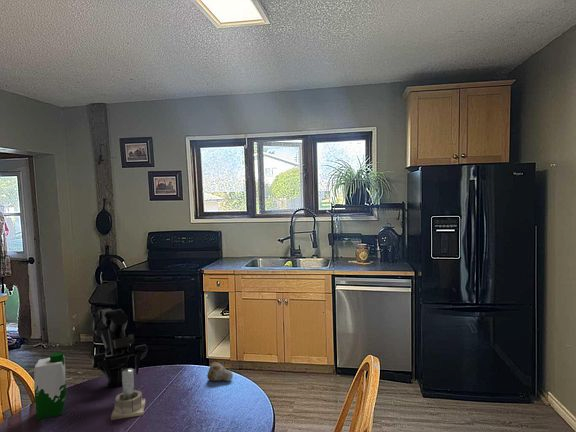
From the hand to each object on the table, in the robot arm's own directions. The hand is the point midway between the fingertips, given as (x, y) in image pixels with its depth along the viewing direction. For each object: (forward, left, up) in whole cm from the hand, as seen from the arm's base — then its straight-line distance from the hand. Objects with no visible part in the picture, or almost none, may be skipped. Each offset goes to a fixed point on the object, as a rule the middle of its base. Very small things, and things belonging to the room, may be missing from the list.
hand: (124, 377), depth 139 cm
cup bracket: (+7, +2, -9) cm, 12 cm away
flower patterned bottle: (-7, +35, -9) cm, 37 cm away
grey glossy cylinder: (+7, +2, -8) cm, 11 cm away
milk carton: (0, -24, -9) cm, 25 cm away
